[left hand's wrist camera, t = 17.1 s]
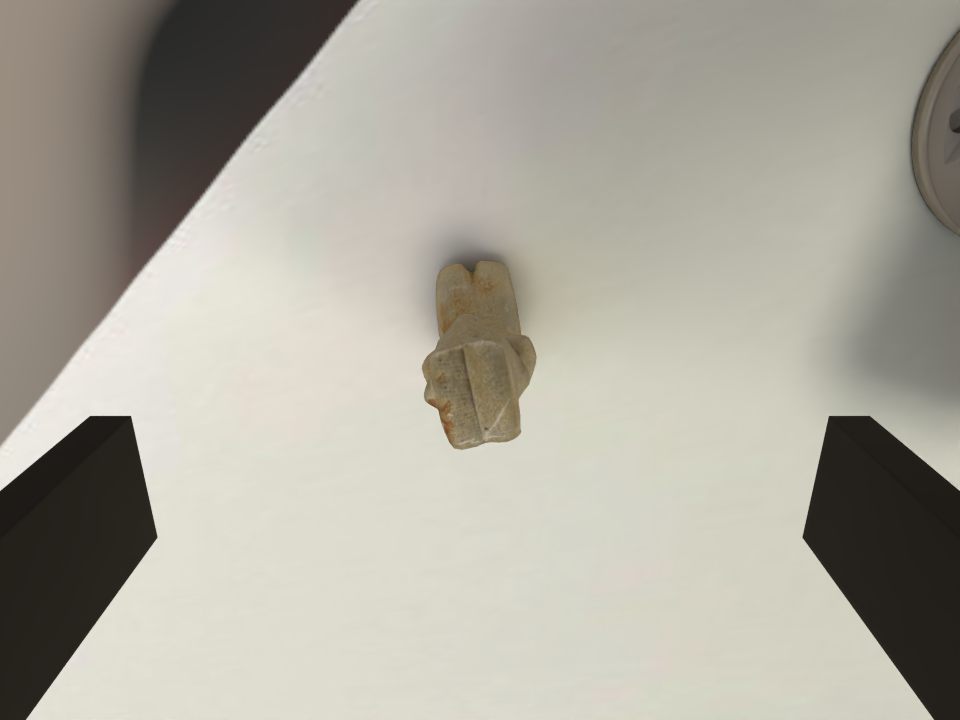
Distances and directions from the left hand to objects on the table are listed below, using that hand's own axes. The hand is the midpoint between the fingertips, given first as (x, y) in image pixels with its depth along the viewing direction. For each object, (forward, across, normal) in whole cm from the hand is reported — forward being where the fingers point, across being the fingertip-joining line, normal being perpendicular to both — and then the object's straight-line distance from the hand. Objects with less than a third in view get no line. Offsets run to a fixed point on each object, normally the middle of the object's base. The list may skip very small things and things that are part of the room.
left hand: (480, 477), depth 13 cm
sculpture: (+30, 0, -6) cm, 30 cm away
